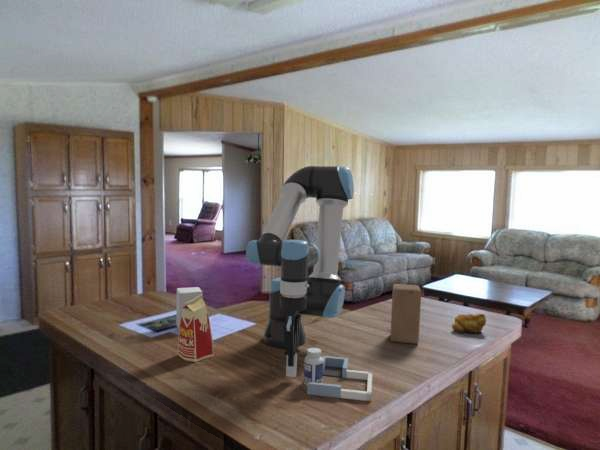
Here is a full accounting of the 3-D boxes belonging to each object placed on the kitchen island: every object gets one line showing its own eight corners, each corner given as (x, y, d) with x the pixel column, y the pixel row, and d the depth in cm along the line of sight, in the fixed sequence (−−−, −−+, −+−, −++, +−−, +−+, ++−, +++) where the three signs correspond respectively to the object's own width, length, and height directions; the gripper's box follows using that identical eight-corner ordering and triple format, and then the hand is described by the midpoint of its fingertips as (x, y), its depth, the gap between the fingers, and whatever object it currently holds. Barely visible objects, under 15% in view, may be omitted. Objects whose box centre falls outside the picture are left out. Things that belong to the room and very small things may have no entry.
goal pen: (340, 397, 120) (340, 390, 120) (344, 376, 134) (345, 369, 134) (370, 401, 119) (371, 393, 119) (372, 378, 133) (372, 372, 133)
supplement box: (202, 330, 173) (203, 291, 172) (178, 332, 170) (179, 293, 169) (198, 323, 182) (199, 286, 180) (176, 325, 178) (176, 287, 177)
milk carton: (197, 348, 153) (197, 290, 151) (215, 355, 147) (216, 295, 146) (174, 356, 146) (174, 295, 144) (192, 363, 140) (192, 300, 139)
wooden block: (418, 345, 163) (421, 290, 162) (390, 342, 165) (392, 288, 164) (417, 336, 173) (419, 284, 171) (390, 333, 175) (392, 283, 173)
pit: (322, 375, 134) (322, 374, 134) (325, 366, 141) (325, 365, 141) (342, 377, 133) (342, 376, 133) (344, 368, 140) (344, 367, 140)
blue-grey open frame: (307, 394, 122) (307, 383, 122) (318, 364, 142) (318, 355, 142) (342, 398, 120) (342, 387, 120) (348, 367, 141) (348, 358, 141)
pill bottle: (321, 379, 132) (322, 346, 131) (323, 387, 126) (324, 353, 125) (303, 379, 131) (304, 346, 131) (304, 387, 126) (305, 353, 125)
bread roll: (456, 335, 176) (457, 315, 175) (446, 327, 186) (447, 308, 185) (487, 335, 177) (489, 315, 177) (476, 327, 187) (477, 308, 186)
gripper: (302, 301, 121) (299, 386, 123) (310, 290, 134) (307, 368, 135) (275, 299, 122) (273, 383, 124) (285, 288, 135) (283, 365, 137)
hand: (291, 375), depth 130 cm, fingers closed
